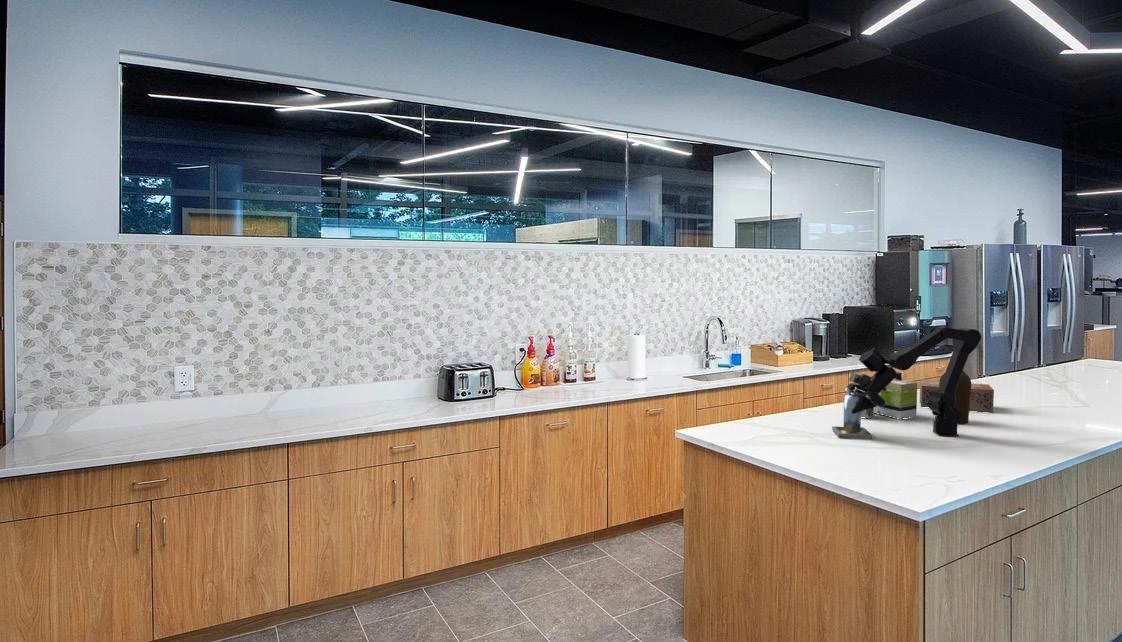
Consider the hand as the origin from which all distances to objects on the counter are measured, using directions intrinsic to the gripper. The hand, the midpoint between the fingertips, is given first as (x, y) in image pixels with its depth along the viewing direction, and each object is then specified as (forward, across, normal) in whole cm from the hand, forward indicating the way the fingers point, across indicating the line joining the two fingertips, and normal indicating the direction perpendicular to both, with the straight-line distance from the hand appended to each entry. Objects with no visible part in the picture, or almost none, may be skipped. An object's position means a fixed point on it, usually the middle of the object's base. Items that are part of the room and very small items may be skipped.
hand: (848, 411), depth 222 cm
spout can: (+4, 0, +6) cm, 7 cm away
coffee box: (-7, -29, +20) cm, 36 cm away
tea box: (-16, -31, +28) cm, 45 cm away
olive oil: (-28, -20, +42) cm, 54 cm away
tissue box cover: (-39, -47, +53) cm, 81 cm away
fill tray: (+5, 0, +7) cm, 9 cm away
